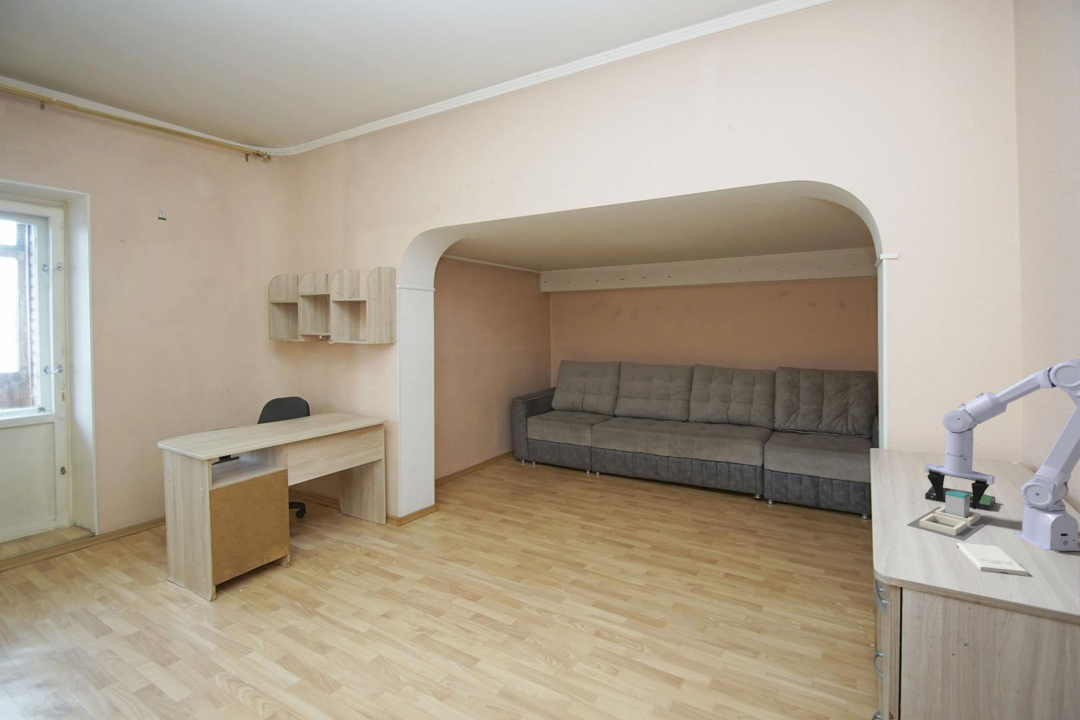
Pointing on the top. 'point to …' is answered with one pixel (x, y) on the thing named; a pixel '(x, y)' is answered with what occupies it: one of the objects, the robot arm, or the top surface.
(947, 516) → the frame
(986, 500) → the disk drive
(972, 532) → the mat
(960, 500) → the plug
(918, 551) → the top surface
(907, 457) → the top surface
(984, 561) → the external hard drive
